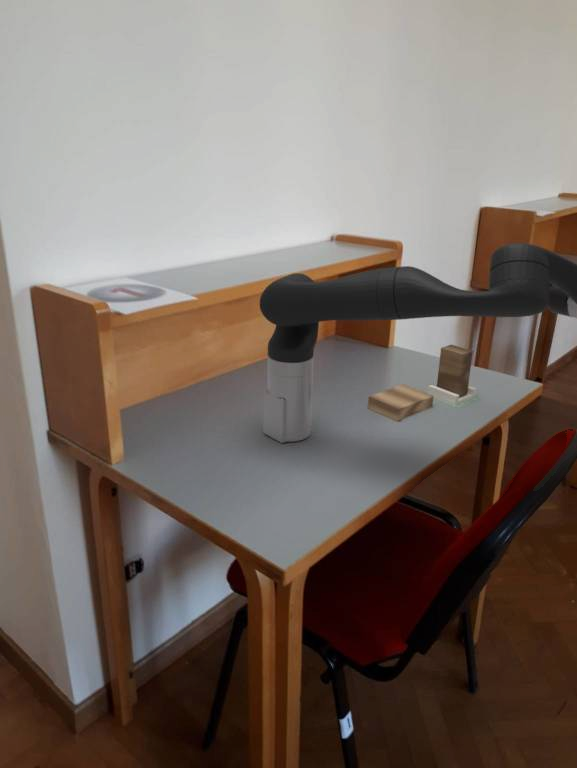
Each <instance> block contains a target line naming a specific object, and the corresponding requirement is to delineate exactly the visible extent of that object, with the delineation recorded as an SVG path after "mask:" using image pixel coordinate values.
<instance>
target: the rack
mask: <svg viewBox="0 0 577 768" xmlns="http://www.w3.org/2000/svg"><path fill="white" fill-rule="evenodd" d="M427 392H428V393H427ZM427 392H426V393H427V394H430V395H432V396H433V397H434V398H437V399H439V400H442V401H444V402H447V403H450V404H452V405H458V404H460V403H462V402H465V401H467V400H470V399H472V398H475V396H476V393H477V388H476V387H474V386H471V385H468V392H467V395H465V396H463V397H460V398H459V395H458V394H455V393H452V392H449V391H447V390H444V389H441V388H439V387H437V385H436V386H435V385H432V384H430V385H428V388H427ZM439 400H438V401H439ZM444 402H443V403H444ZM452 405H451V406H452Z"/></svg>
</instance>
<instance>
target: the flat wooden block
mask: <svg viewBox="0 0 577 768" xmlns="http://www.w3.org/2000/svg"><path fill="white" fill-rule="evenodd" d="M433 403H434V399H433V396H432V395H430V394H427V392H424V391H422V390H419V389H416V388H414V387H412V386H409V385H406V384H403V383H402V384H400V385H397V386H395V387H391V388H389V389H386V390H383V391H380V392H377V393H374V394H371V395H368V403H367V409H369V410H370V411H373V412H375V413H376V414H379V415H381V416H384V417H386V418H389V419H391V420H394V421H396V422H400V421H402V419H405V418H406V417H409V416H412V415H414V414H416V413H419V412H422V411H425V410H427V409H430V408H432V407H433Z"/></svg>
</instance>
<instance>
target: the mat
mask: <svg viewBox="0 0 577 768" xmlns="http://www.w3.org/2000/svg"><path fill="white" fill-rule="evenodd" d="M426 393H428V391H427V392H426ZM479 399H480V397H478V396H476V395H475V398H472V399H470V400H467V401H465V402H462V403H460V404H458V405H452V404H450V403H447V402H444V401H442V400H439V399H437V398H434V397H433V400H436V401H439V402H442V403H444V404H447V405H449V406H452V407H454V408H460V407H462V406H465V405H467V404H469V403H472V402H475V401H476V400H479Z"/></svg>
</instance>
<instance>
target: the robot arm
mask: <svg viewBox="0 0 577 768" xmlns="http://www.w3.org/2000/svg"><path fill="white" fill-rule="evenodd" d="M488 278H489V281H488V290H487V291H486V290H485V291H477V290H475V291H474V290H473V291H472V290H465V289H460V288H458V287H455V286H452V285H450V284H448V283H446V282H444V281H443V280H441V279H439V278H437V277H435V276H433V275H432V274H430V273H429V272H427V271H425V270H422V269H420V268H418V267H414V266H409V265H408V266H407V265H406V266H395V267H394V266H393V267H386V268H382V267H381V268H376V269H370V270H366V271H361V272H356V273H352V274H349V275H346V276H342V277H338V278H336V279H334V278H333V279H331V280H325V281H324V280H323V281H314V280H313V279H312V278H311V277H309V276H308V275H307V274H303V273H299V272H297V273H291V274H288V275H286V276H283V277H281V278H278V279H276V280H273V281H272V282H271V283H270V284H268V285H267V286H266V287H265V288H264V290H262V293H261V295H260V298H259V309H260V312H261V313H262V315H263V317H264V318H265V319H266V320H267V321H269V322H270V323H271V324H273V325H274V326H275V328H274V331H273V333H272V335H271V337H270V339H269V340H268V343H267V388H266V389H267V390H265V391H263V419H262V421H263V429H262V430H263V431H262V432H263V434H265V435H266V436H269V437H270V438H271V439H274V440H276V442H279V443H280V444H283V443H287V442H290V443H292V442H299V441H300V442H301V441H303V440H305V439H308V438H309V437H310V435H311V434H312V409H313V407H312V406H313V383H314V382H313V381H314V378H313V377H314V354H315V353H314V351H315V348H316V347H315V346H316V344H317V341H318V334H319V326H320V325H319V324H320V323H321V322H328V321H343V322H344V321H349V322H350V321H353V322H354V321H355V322H356V321H359V322H360V321H363V322H364V321H396V320H412V319H413V320H414V319H422V318H423V319H424V318H438V317H439V318H441V317H443V318H444V317H482V318H483V317H488V318H521V317H531V316H535V315H538V314H541V313H543V312H545V310H546V309H549V311H550V312H551V313H553V314H557V315H561V316H565V317H569V318H570V317H571V318H574V319H577V263H576V262H573V261H572V260H570V259H567V258H565V257H564V256H561V255H560V254H557V253H556V252H553V251H552V250H551V251H550V250H548V249H547V248H544V247H542V246H538V245H535V244H532V243H526V242H525V243H523V242H514V243H508V244H505V245H502V246H500V247H499V248H497V249H495V250H494V252H493V253H492V254H491V259H490V263H489V277H488Z"/></svg>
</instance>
